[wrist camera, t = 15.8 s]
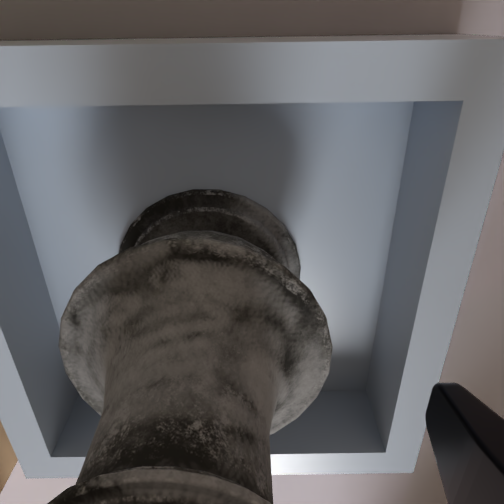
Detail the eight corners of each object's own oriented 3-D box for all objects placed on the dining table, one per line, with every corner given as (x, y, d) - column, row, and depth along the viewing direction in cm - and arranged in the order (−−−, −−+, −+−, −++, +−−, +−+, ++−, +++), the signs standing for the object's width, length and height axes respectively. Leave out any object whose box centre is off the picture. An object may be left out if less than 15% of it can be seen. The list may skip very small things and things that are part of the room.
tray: (458, 33, 10) (536, 38, 7) (385, 396, 16) (413, 472, 13) (-55, 41, 10) (-166, 48, 7) (63, 401, 16) (26, 478, 13)
